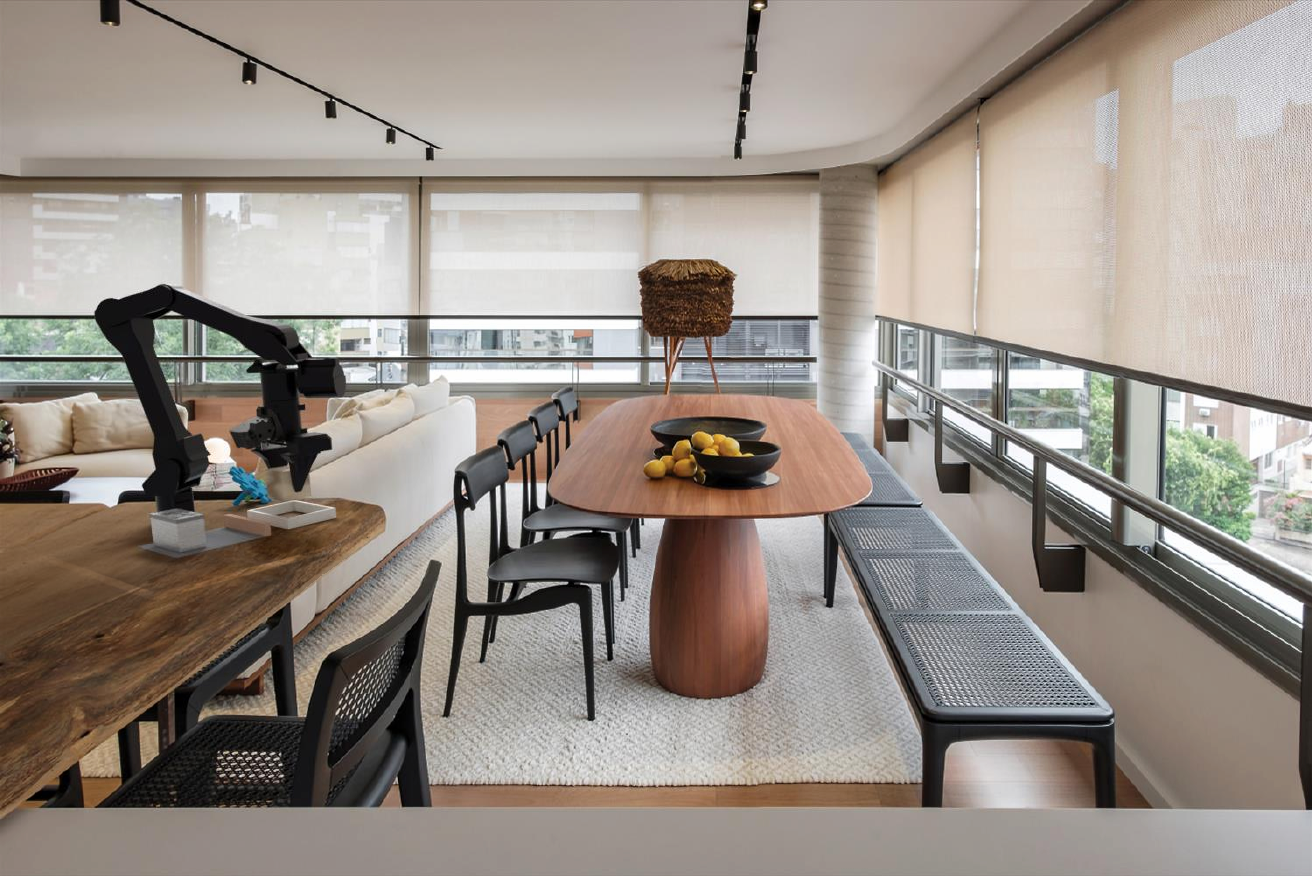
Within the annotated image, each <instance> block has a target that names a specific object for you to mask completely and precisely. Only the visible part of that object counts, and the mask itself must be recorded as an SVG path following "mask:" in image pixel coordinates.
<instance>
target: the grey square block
mask: <svg viewBox="0 0 1312 876" xmlns="http://www.w3.org/2000/svg"><path fill="white" fill-rule="evenodd" d="M149 518H150V525H151V532H152V539H153V542H152V543H154V546H158V547H161V548H165V549H168V550H172V551H175V552H179V553H181V552H186V551H190V550H194V549H198V548H202V547H206V546H207V545H206V536H205V531H206V527H205V520H204V519H205V515H204V513H199V512H196V511H195V512H191V511H186V510H182V509H178V508H176V509H171V510H166V511H161V512H157V511H156V512H151V513H149Z"/></svg>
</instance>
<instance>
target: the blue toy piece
mask: <svg viewBox="0 0 1312 876" xmlns="http://www.w3.org/2000/svg"><path fill="white" fill-rule="evenodd" d="M228 474H229V475H230V476H232V477H231V480H232V482H234V483H237V484H239V488H240V489H241V490H242V492H241V493H240V494H239V495H238V497H237V498H236V499H235V500H233V502H232V503H231V504H232V505H233V506H234V507H237V506H239V505H240V504H241V503H242V501H246V502H248V501H250V499H251V498H253V500H256V499H257V498H259V501H260V503H261V504H267V503H268V502H274V501H275V500H274V499H268V497H267V486H266V483H265V482H266V480H264V479H262V478H259V479H258V480H257V479H256V476H255V475H254V474H253V473H252V472H249V473H246V470H245V469H244V468H243V467H237V466H234V465H233V466H232V467H230V468H229V471H228Z"/></svg>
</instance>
